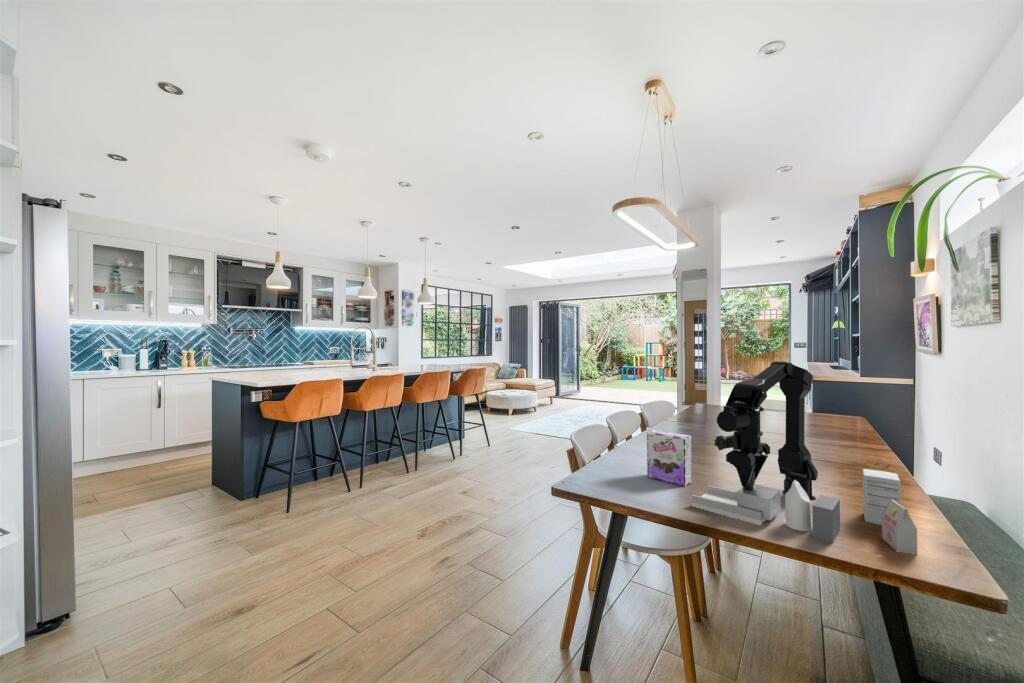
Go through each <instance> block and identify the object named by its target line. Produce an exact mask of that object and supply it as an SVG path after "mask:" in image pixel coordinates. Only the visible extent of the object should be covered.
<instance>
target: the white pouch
mask: <svg viewBox="0 0 1024 683" xmlns="http://www.w3.org/2000/svg"><path fill="white" fill-rule="evenodd" d="M811 511H812V508H811V499H809V497H808V495H807V493H806V492H805V491H804V489H803V488H802V487H801V485H800V484H799V482H798V481H796V480H794V481H793V482H792V485H791V488H790V489H789V491H788V492H787V493H786V494H785V495H784V513H785V514H784V515H785V525H786V526H787V527H788V528H790V529H792V530H795V531H800V532H809V531H811V530H812V512H811Z"/></svg>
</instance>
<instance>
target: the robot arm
mask: <svg viewBox="0 0 1024 683" xmlns="http://www.w3.org/2000/svg"><path fill="white" fill-rule="evenodd" d="M813 382H814V377H813V374H812V373H811V372H809V370H808V369H806V368H803V367H799V366H797V365H795V364H793V363H792V362H790V361H772V362H771V363H770V365H769V366H768V367H766V368H765V369H764V370H762V371H761V372H760V373H758V374H757V375H756V376H754V377H753V378H750V379H746V380H741V381H739V382H736V383H735V384H734V386H733V388H732V389H731V391H730V394H729V396H728V399H727V401H726V403H725V406H723V411H720V412H719V413H718V414H717V417H716V423H717V426H718V428H719V429H721V430H722V432H726V433H731V432H733V434H730V435H726V436H725V435H723V434H721V435H717V436H715V439H714V446H715V447H717V449H718V451H723V450H725V449H730V448H732V450H731V451H729V452H727V453H726V454H725V462H726V463H729V464H730V465H732V466H733V467H735V469H736V471H737V474H738V477H739V481H740V484H741V486H742V488H743V487H747V485H748V483H749V480H750V478H751V475H752V473H753V471H755V481H756V480H757V478H758V476H759V475H760V472H761V470H762V468H763V467H764V465H765V463H766V461H767V459H768V457H769V455H770V454H771V446H770V445H769V444H768V443H765V442H761V437H762V436H763V435H764V434H763V431H761V412H764V411H765V408H764V407H763V406H761V405H762V404H763V402H765V400H766V398H768V394H767V392H768V391H769V390H770V389H772V387H774V386H775V385H777V384H778V383H779V389H780V391H781V392H782V393H783V395H784V396H785V442H784V444H783V446H782V447H781V448H778V450H777V453H778V457H777V464H778V468H779V469H778V470H779V473H780V474H782V475H784V476H785V477H784V478H785V479H784V480H783V490H782V489H781V490H782V493H783V494H785V495H786V493H787V492H788V491H789V489H790V488H791V485H792V482H793V481H794V480H796V481H798V482H799V484H800V485H801V487H802V488H803V489H804V491H805V492H806V493H807V495H808V497H809V499H810V500H817V498H816V496H814V495H813V481H817V479H818V476H819V475H818V474H819V472H818V470H817V468H816V466H815V465H814V463H813V462H812V456H811V455H812V454H811V452H810V451H809V449H808V448H807V447H806V444H805V422H806V421H805V418H806V417H805V416H806V415H805V411H806V410H805V407H806V406H805V402H806V401H805V398H806V397H807V395H809V393H810V392H811V390H812V384H813ZM763 453H764V454H763Z"/></svg>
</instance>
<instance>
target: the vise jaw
mask: <svg viewBox="0 0 1024 683" xmlns="http://www.w3.org/2000/svg"><path fill="white" fill-rule="evenodd" d="M736 492H737V506H739V507H743V508H747V509H751V510H755V511H758V512H762V518H763V519H767V521H772V519H773V518H774V517H775V516H776V515H777V514H778V513H779V512H780V511H781V508H782V507H781V501H782V499H781V498H782V497H781V489H778V488H773V487H768V486H763V485H759V484H756V480H755V471H753V473H752V475H751V478H750V480H749V483H748V485H747V487H743V486H742V487H741V488H739V490H738V491H736Z"/></svg>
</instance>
